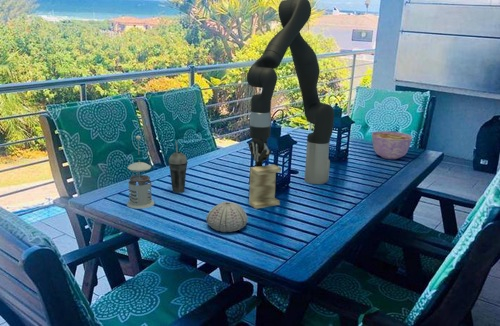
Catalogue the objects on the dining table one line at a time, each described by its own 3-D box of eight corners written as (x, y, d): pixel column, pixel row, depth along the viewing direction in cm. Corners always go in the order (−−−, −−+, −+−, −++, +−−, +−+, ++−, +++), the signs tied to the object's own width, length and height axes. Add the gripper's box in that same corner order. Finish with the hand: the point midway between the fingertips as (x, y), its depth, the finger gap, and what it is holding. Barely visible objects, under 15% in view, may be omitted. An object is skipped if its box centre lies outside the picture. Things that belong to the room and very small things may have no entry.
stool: (272, 200, 178) (273, 164, 174) (279, 204, 174) (281, 167, 170) (249, 204, 173) (250, 167, 169) (255, 208, 169) (257, 171, 165)
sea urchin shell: (214, 237, 145) (214, 213, 143) (200, 221, 157) (200, 198, 155) (254, 231, 150) (255, 207, 148) (238, 216, 162) (238, 194, 160)
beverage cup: (191, 189, 187) (190, 140, 181) (182, 195, 180) (182, 144, 175) (174, 187, 189) (173, 138, 183) (165, 192, 182) (164, 142, 177)
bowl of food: (367, 151, 254) (369, 130, 251) (406, 153, 251) (408, 132, 248) (371, 161, 235) (373, 138, 232) (413, 163, 232) (416, 140, 229)
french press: (130, 210, 164) (127, 139, 157) (122, 199, 174) (119, 132, 167) (158, 206, 169) (156, 137, 162) (148, 195, 178) (146, 130, 172)
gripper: (279, 127, 165) (276, 174, 170) (260, 120, 177) (258, 165, 181) (260, 128, 162) (258, 177, 167) (242, 121, 173) (241, 167, 178)
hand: (258, 170), depth 174 cm, fingers closed
